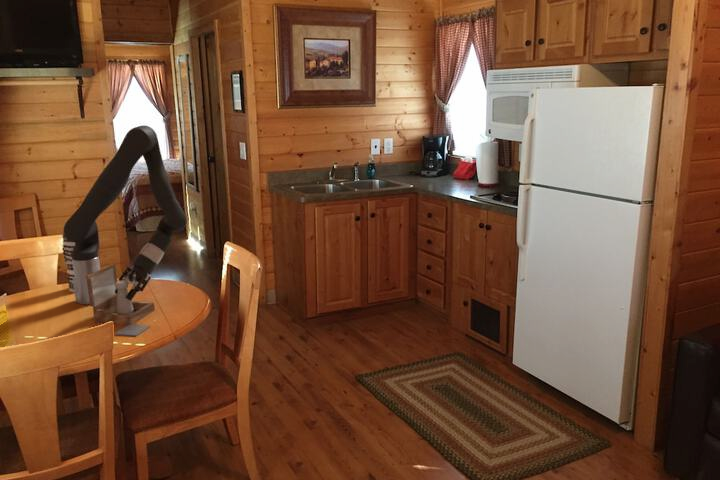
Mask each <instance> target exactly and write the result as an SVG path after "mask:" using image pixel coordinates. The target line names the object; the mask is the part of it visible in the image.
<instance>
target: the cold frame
mask: <svg viewBox="0 0 720 480" xmlns="http://www.w3.org/2000/svg"><path fill="white" fill-rule="evenodd" d="M86 278H87V285H88V292H89V299H90V304H89V305H90V307H92V309H93V318H94V323H98V324H107V323H106V322H109V321H113V322H114V324H113V325H121V326H122V325H123V326H127V325H129V324H132V325H136V323H137V322H139V321H141V320H142V319H144V318H145V317H147V316H148V315H150V314H151V313H154V312H155V310H156V309H155V302H152V301H136V300H135V301H134V300H133V299H132V300H131V302H132V305H133V308H134V310H133V311H135V312H133V313H132V314H131V315H130V316H127V315H118V314H115V313H117V312H116V305H117V294H116V293H115V290H116V288H115V283H116V282H118V275H117V268H116V263H111V264H109V265H107V266H104V267H103V268H100V270H98V271H96V272H94V273H92V274H89V275H87V276H86Z"/></svg>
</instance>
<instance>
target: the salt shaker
mask: <svg viewBox="0 0 720 480" xmlns="http://www.w3.org/2000/svg"><path fill="white" fill-rule="evenodd" d="M115 288H116V289H118V292H117V305H116V312H115V313H116V315H127V316H130V315H131V314H133V313H134V311H135V310H134V308H133V305H132V302H131V301H130V300H128V299H126V296H127V294H128V293H129V290H128V288H129V284H128V282H127V281H119V280H117V282H116V283H115Z"/></svg>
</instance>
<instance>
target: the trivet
mask: <svg viewBox="0 0 720 480" xmlns="http://www.w3.org/2000/svg"><path fill="white" fill-rule="evenodd" d="M149 328H151V325H142V324H133V325H132V324H129V325H125V326H124V327H122V328H121V329H119V330H118V331H117V332H114V335H115V336H124V337H136V338H137V337H138V336H140V335H141V334H143V333H144V332H146V331H147V330H148V329H149Z"/></svg>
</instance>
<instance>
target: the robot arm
mask: <svg viewBox="0 0 720 480" xmlns="http://www.w3.org/2000/svg"><path fill="white" fill-rule="evenodd" d="M161 152H162V151H161V149H160V143H159V139H158V135H157V132H156V131H155V130H154V129H153V128H152V127H150V126H149V125H139V126H136V127H133V128H131V129H130V130H128V131H127V133H126V135H125V136H124V138H123V140H122V142H121V144H120V146H119V147H118V149H117V151H116V153H115V154H114V156H113V157H112V159H111V160H110V161H109V162H108V163H107V165H106V167H104V169H103V170H102V172H101V173H100V174H99V176H98V177H97V179H96V180H95V182H94V183H93V185H92V186H91V188H90V189H89V191H88V193H86V196H85V198H84V199H83V200H82V202H81V204H80V206H79V207H78V208H77V209H76V210H75V211H74V212H73V214H72V215H70V217H69V218H68V219H67V221H66V222H65V224H64V226H63V232H64V235H65V237H66V239H67V240H69V241H70V242H75V246H74V249H73V250H72V253H71V256H72V262H73V269H74V276H75V278H73V285H74V292H73V293H74V297H75V303H78V304H81V305H90V299H89V292H88V285H87V278H86V276H87V275H89V274H92V273H94V272H96V271H98V270H100V269H101V264H100V257H99V249H100V239H99V238H100V235H99V228H98V225H97V219H98V218H99V216H101V214H103V213H104V212H105V211H106V210H107V209H108V208H109V207H110V206H111V205H112V204H113V203H114V202H115V201H117V199H118V197H120V195H121V193H122V192H123V191H124V189H125V188H126V186H127V184H128V182H129V179H130V175H131V173H132V170H133V169H134V167H135V165H136V164H137V163H138V162H139V160H140V159H141V158H142V157H143V159H144V162H145V165H146V167H147V173H148V174H147V175H148V179H149V185H150V189H151V192H152V195H153V197H154V200H155V203H156V205H157V206H158V208H159V209H161V210H162V211H163V214H164V215H163V216H162V217H161V219H160V221H159V223H158V225H157V227H156V229H155V231H154V233H153V234H152V236H151V237H150V239H149V240H148V241H147V243H146V244H145V245H144V246H143V247H142V248H141V250H140V252H139V253H138V254H137V256H136V257H135V259H134V260H133V262H132V265H133V267H130V266H127V268H126V269H125V270H124V272H123V273H122V274H121V275H120V277H119V278H118V281H127V282H128V285H131V284H132V287H131V288H130V290H128V294H127V296H126V299H128V300H130V301H131V300H132V301H133V299H134V298H135V295H136V294H137V293H138V292H143V291H144V290H145V288H146V286H147V285H148V284H149V282H150V281H151V278H152V277H151V276H150V275H151V274H153V272H154V270H155V269H156V267H157V266H158V265H159V263H160V262H161V260H162V259H163V257H164V254H165V253H166V252H167V250H168V249H169V247H170V246H171V245H172V241H173V240H172V237H173V236H174V234H175V232H179V231H182V230H184V229H185V228H186V227H187V223H188V221H187V220H188V219H187V216H186V214H185V211H184V210H183V208H182V206H181V205H180V202H179V201H178V200H177V198H176V194H175V192H174V189H173V187H172V184H171V181H170V179H169V177H168V174H167V171H166V167H165V164H164V160H163V157H162V153H161ZM117 292H118V289H116V290H115V293H116V294H117Z"/></svg>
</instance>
